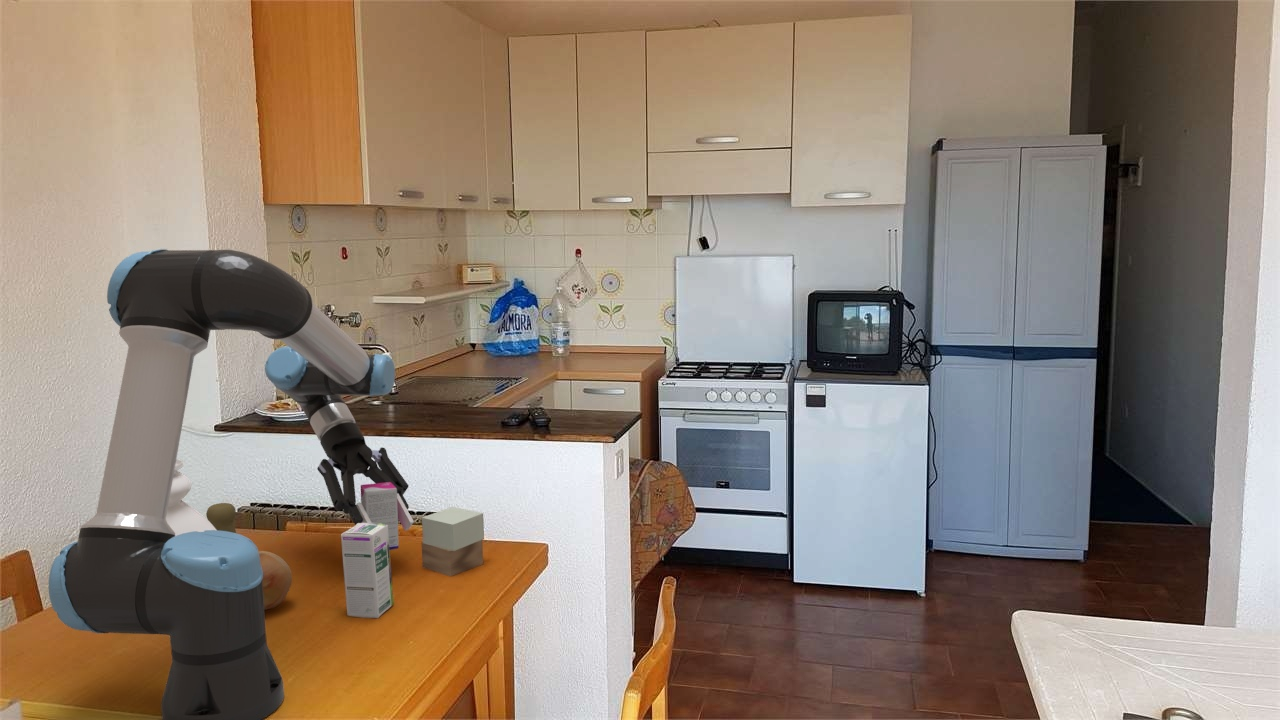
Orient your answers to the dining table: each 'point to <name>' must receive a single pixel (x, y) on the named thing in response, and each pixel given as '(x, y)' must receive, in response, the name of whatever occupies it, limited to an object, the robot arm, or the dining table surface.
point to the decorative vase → (183, 507)
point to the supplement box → (382, 508)
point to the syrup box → (367, 570)
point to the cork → (222, 516)
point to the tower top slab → (453, 528)
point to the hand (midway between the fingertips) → (390, 531)
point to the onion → (274, 579)
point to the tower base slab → (452, 558)
